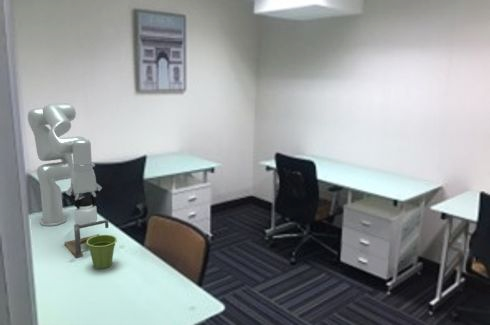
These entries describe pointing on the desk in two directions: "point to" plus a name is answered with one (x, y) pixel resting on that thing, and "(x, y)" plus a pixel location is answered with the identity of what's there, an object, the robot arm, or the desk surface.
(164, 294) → the desk surface
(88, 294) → the desk surface
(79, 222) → the medicine bottle
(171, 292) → the desk surface
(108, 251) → the plant pot
